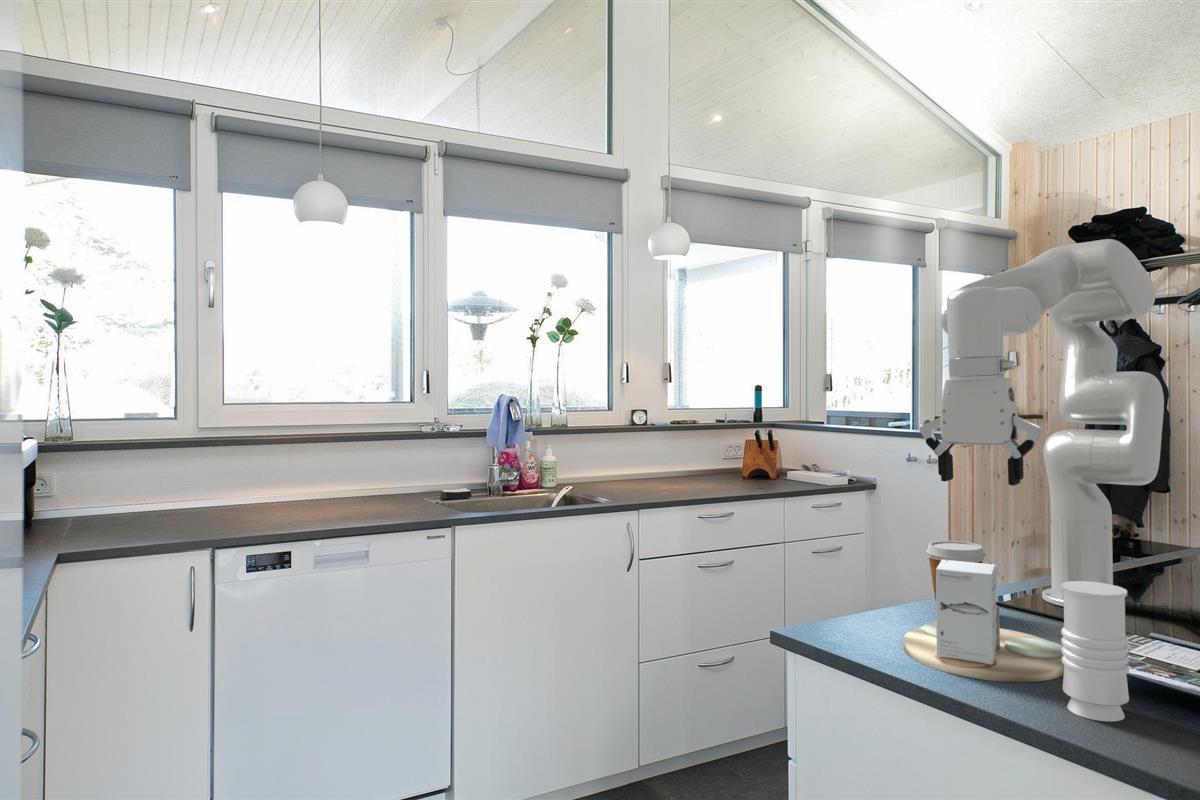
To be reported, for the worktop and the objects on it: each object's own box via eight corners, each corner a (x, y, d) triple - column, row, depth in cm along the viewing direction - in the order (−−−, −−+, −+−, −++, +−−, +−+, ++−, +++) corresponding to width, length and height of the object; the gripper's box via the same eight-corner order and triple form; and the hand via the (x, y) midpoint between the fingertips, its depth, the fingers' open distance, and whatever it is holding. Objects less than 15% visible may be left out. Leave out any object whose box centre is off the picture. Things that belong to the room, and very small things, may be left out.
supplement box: (935, 657, 107) (933, 568, 107) (942, 642, 114) (940, 558, 114) (994, 666, 104) (992, 573, 104) (998, 650, 110) (996, 562, 110)
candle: (1136, 710, 93) (1134, 587, 93) (1121, 728, 88) (1119, 598, 88) (1072, 695, 98) (1070, 578, 98) (1054, 711, 93) (1052, 588, 93)
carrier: (938, 623, 129) (937, 576, 129) (1088, 652, 113) (1087, 598, 113) (878, 656, 113) (877, 602, 113) (1043, 695, 98) (1042, 633, 98)
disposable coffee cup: (976, 624, 128) (975, 553, 128) (918, 614, 134) (917, 546, 134) (993, 612, 135) (992, 544, 135) (938, 603, 141) (936, 538, 141)
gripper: (1047, 366, 112) (1051, 482, 113) (928, 371, 124) (932, 476, 125) (1031, 367, 107) (1035, 489, 107) (909, 372, 119) (913, 482, 120)
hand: (979, 482), depth 116 cm, fingers open, 9 cm apart
